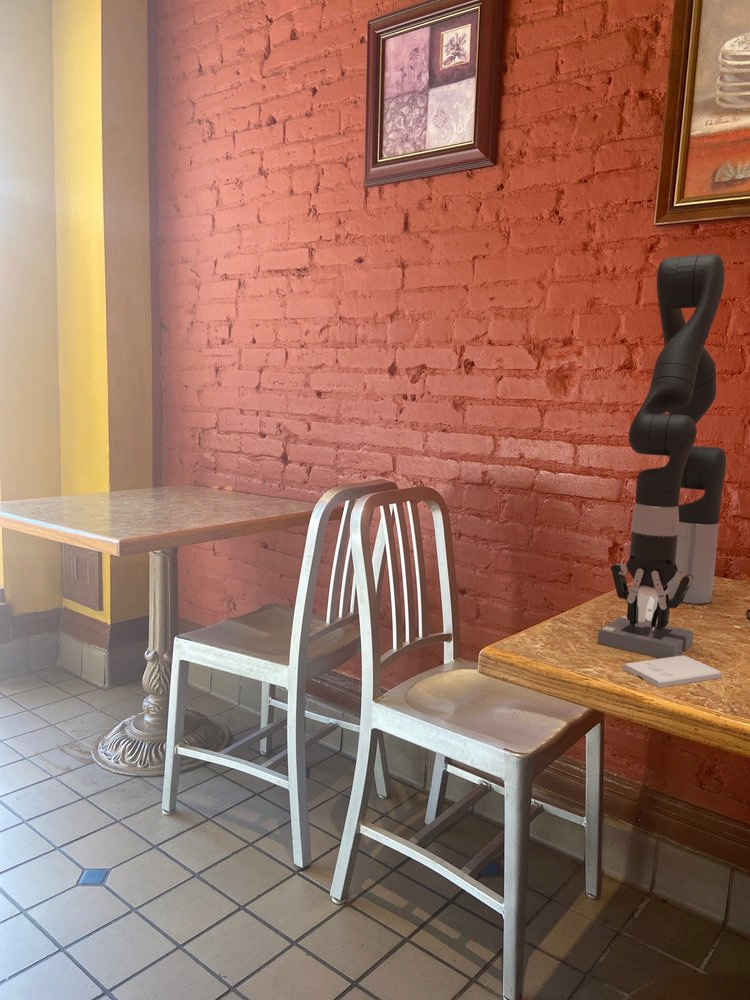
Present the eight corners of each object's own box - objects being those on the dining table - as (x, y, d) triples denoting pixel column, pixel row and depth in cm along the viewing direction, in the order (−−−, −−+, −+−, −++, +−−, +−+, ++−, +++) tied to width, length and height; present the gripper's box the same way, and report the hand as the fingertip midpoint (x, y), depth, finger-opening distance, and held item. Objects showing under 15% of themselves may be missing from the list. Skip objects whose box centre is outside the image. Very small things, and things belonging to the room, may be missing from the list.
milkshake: (664, 641, 129) (672, 586, 127) (632, 637, 130) (640, 582, 128) (660, 633, 133) (668, 579, 132) (628, 628, 134) (636, 575, 133)
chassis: (619, 629, 140) (620, 614, 140) (692, 644, 132) (693, 629, 132) (597, 643, 132) (598, 628, 131) (673, 661, 124) (675, 644, 123)
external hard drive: (721, 681, 117) (658, 691, 112) (681, 663, 124) (621, 671, 120) (722, 671, 116) (659, 680, 112) (682, 654, 124) (622, 662, 119)
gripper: (703, 532, 128) (695, 629, 130) (621, 522, 136) (614, 613, 139) (691, 538, 122) (682, 640, 124) (606, 527, 131) (599, 622, 133)
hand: (646, 625), depth 132 cm, fingers closed on milkshake, 4 cm apart
